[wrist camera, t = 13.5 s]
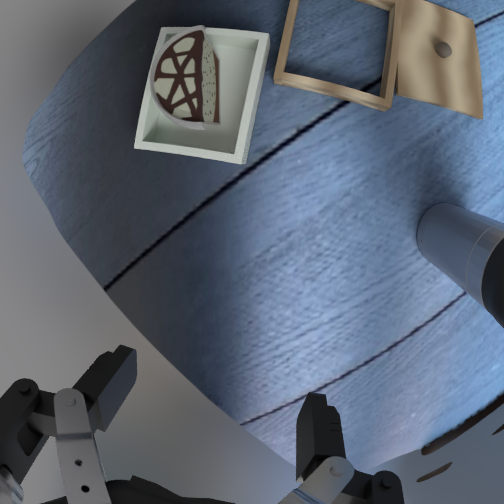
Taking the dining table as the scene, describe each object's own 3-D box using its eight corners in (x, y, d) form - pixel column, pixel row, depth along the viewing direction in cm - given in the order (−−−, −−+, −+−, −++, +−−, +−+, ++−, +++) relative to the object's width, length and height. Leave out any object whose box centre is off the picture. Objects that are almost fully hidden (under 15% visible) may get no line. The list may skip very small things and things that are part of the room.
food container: (176, 55, 34) (147, 31, 25) (220, 50, 34) (201, 20, 24) (176, 138, 38) (144, 133, 28) (220, 135, 37) (200, 127, 28)
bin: (270, 46, 33) (268, 33, 29) (246, 163, 39) (241, 164, 34) (173, 38, 34) (161, 27, 30) (148, 148, 39) (133, 148, 35)
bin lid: (470, 22, 27) (476, 18, 25) (479, 119, 32) (487, 118, 30) (389, -7, 28) (393, -13, 26) (395, 94, 34) (401, 91, 31)
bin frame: (395, 8, 29) (402, 0, 26) (383, 111, 35) (390, 108, 32) (296, -18, 30) (296, -29, 27) (274, 83, 35) (273, 77, 32)
